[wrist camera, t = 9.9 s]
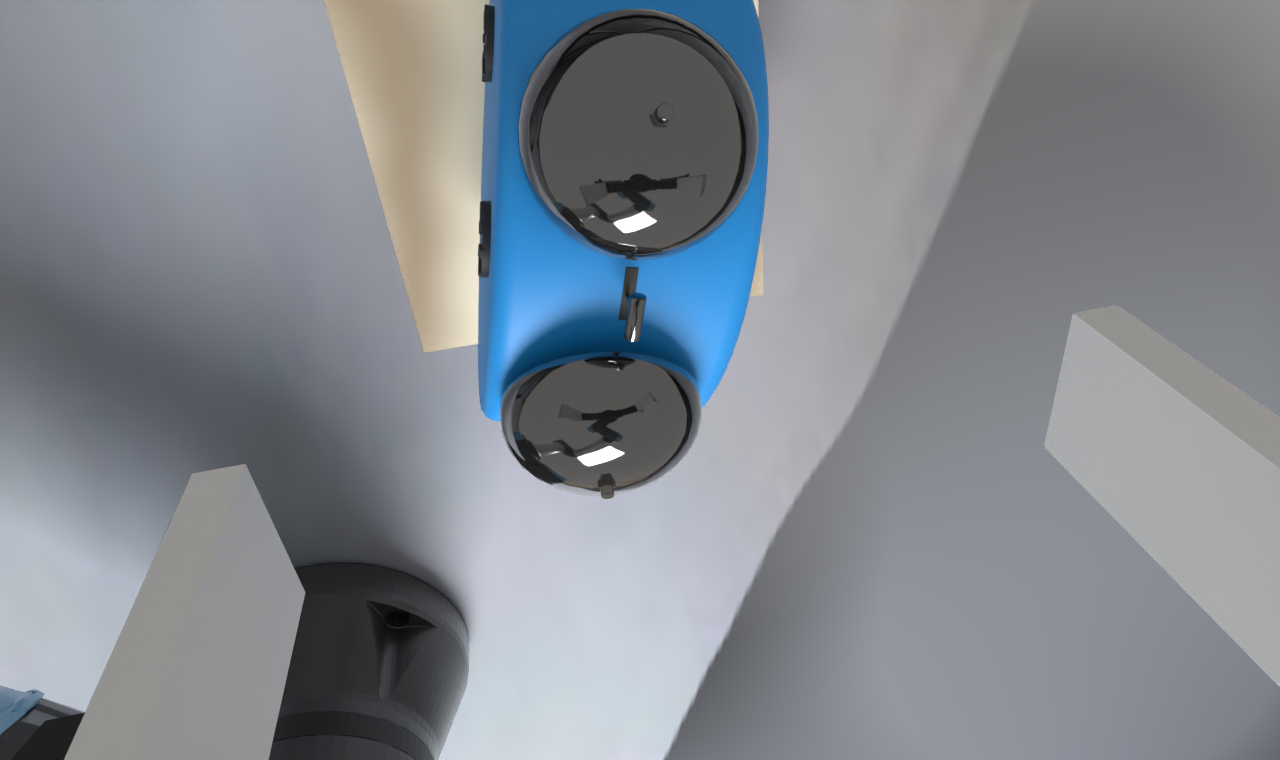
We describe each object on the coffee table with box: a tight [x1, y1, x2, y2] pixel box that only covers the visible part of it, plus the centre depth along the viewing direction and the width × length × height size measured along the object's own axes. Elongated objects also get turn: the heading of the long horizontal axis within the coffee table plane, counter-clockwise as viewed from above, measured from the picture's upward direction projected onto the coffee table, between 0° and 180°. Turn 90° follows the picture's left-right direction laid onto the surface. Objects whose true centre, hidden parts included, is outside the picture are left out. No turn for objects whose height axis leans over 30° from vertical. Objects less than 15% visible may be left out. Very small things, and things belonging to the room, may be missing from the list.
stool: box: [324, 0, 763, 353], centre depth 32 cm, size 14×16×8 cm
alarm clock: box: [478, 0, 769, 499], centre depth 23 cm, size 13×6×15 cm, turn 172°
